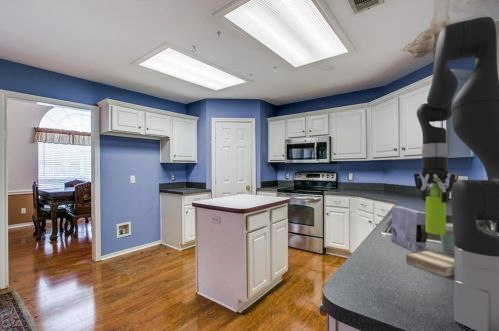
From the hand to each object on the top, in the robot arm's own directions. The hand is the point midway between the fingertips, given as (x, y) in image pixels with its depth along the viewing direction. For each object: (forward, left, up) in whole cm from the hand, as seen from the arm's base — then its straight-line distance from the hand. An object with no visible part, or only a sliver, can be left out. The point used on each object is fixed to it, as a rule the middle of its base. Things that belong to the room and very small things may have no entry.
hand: (434, 201), depth 88 cm
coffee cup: (+23, +7, -24) cm, 34 cm away
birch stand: (0, 0, -24) cm, 24 cm away
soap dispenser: (0, 0, -12) cm, 12 cm away
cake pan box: (+13, +19, -24) cm, 34 cm away
